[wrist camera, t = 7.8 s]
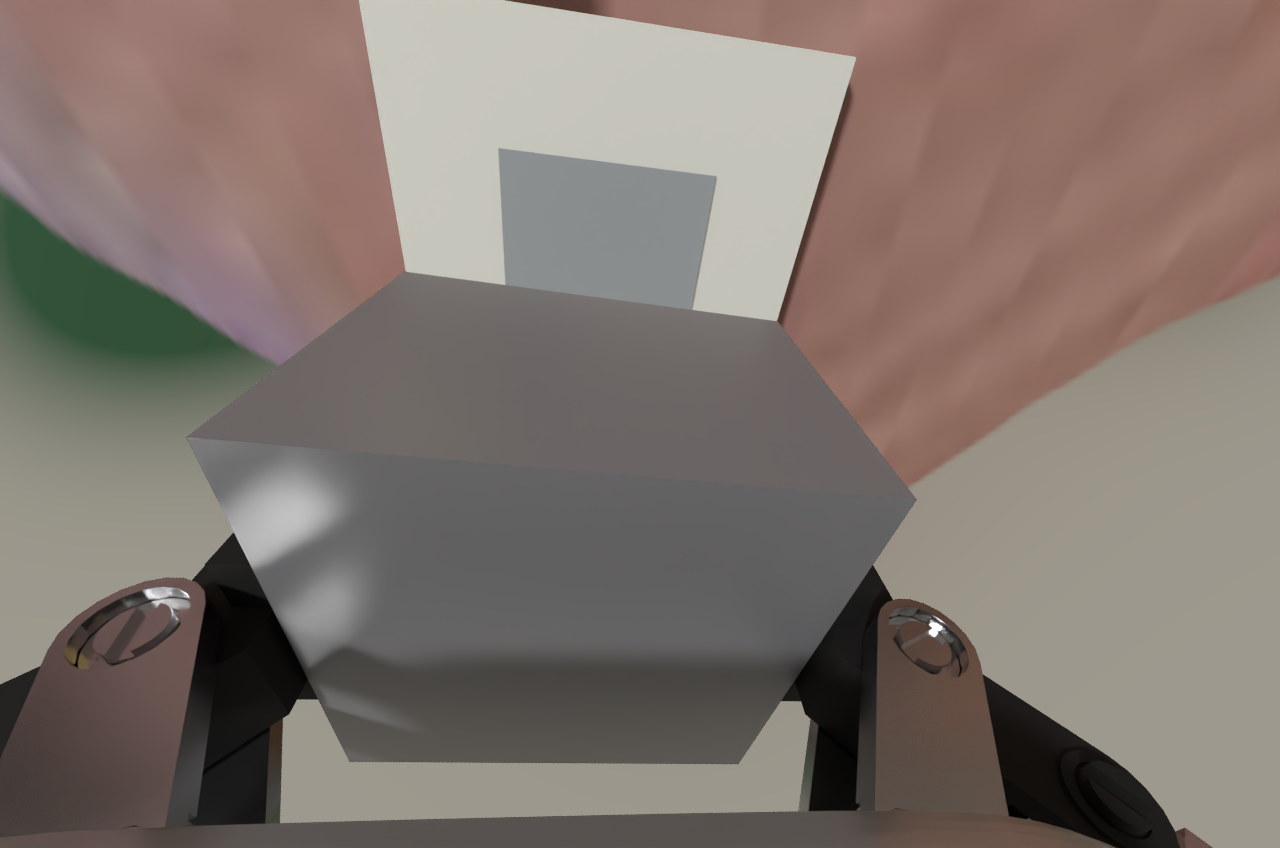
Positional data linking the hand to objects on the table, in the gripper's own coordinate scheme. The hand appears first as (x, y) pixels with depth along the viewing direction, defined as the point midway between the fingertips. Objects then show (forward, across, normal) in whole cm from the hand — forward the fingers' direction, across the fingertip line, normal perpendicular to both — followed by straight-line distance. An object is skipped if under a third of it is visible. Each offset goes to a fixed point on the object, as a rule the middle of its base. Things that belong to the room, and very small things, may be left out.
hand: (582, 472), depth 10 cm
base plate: (+15, 0, 0) cm, 15 cm away
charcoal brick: (+1, 0, 0) cm, 1 cm away
